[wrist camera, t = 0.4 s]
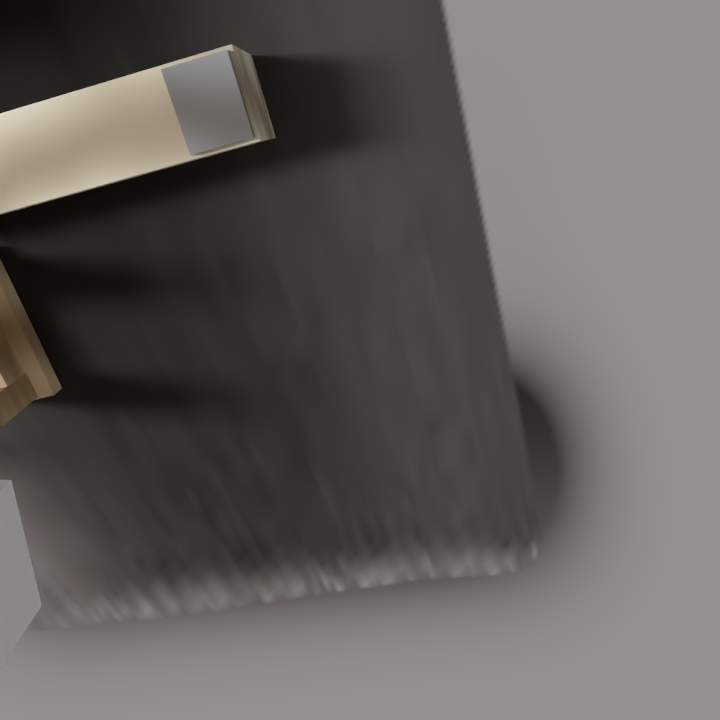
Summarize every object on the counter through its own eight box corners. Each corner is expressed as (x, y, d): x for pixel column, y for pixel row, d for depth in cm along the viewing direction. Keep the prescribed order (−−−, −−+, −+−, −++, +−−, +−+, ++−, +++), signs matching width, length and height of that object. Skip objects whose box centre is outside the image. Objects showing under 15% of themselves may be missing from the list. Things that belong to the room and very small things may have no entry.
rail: (-101, 160, 33) (-186, 167, 28) (252, 55, 31) (229, 43, 26) (-64, 232, 34) (-138, 252, 29) (276, 137, 32) (259, 140, 27)
